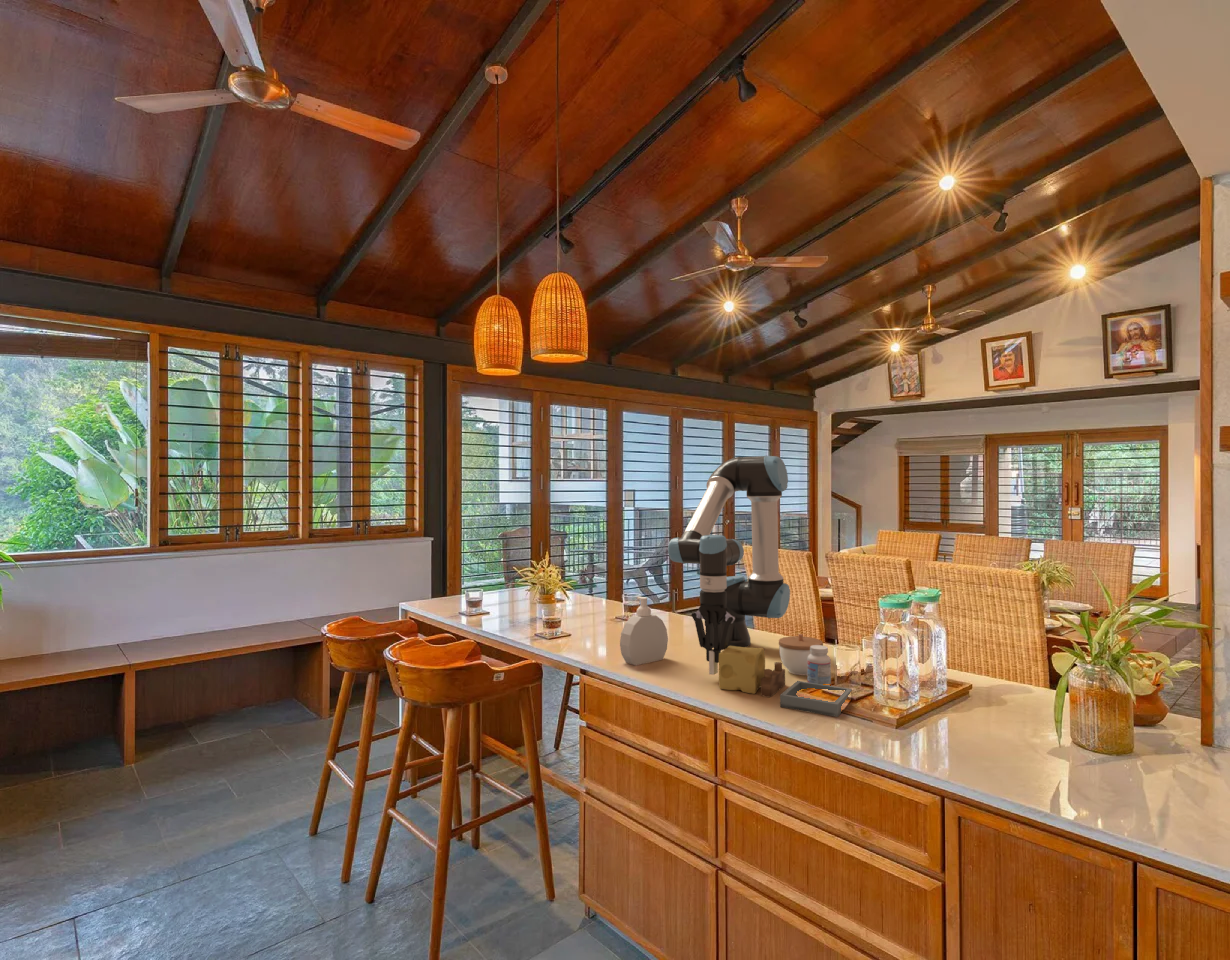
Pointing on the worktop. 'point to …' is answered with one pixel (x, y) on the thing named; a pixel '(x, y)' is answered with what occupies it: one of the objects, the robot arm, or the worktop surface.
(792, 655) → the lidded bowl
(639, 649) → the soap bottle
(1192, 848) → the worktop surface
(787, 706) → the tray
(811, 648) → the pill bottle
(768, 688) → the stop rail
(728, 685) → the cheese
